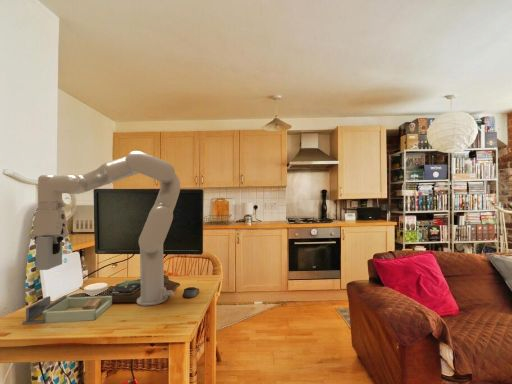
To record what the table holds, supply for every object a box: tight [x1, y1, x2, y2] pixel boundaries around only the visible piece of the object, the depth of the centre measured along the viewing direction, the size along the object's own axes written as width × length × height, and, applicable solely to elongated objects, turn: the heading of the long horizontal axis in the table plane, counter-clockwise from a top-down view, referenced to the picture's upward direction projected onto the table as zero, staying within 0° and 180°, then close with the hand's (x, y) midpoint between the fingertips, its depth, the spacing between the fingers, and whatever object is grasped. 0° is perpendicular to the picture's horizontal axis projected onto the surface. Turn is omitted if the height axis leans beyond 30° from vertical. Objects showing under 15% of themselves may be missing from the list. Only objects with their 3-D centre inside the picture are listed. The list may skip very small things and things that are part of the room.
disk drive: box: [109, 280, 140, 294], centre depth 135 cm, size 10×3×15 cm
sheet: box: [35, 234, 63, 271], centre depth 108 cm, size 4×9×12 cm, turn 5°
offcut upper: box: [82, 299, 101, 310], centre depth 109 cm, size 4×7×2 cm, turn 12°
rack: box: [42, 295, 113, 324], centre depth 109 cm, size 18×15×4 cm
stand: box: [21, 295, 68, 325], centre depth 108 cm, size 7×16×5 cm, turn 5°
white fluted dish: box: [83, 282, 109, 297], centre depth 132 cm, size 10×10×4 cm
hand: (49, 253), depth 108 cm, fingers closed on sheet, 4 cm apart
